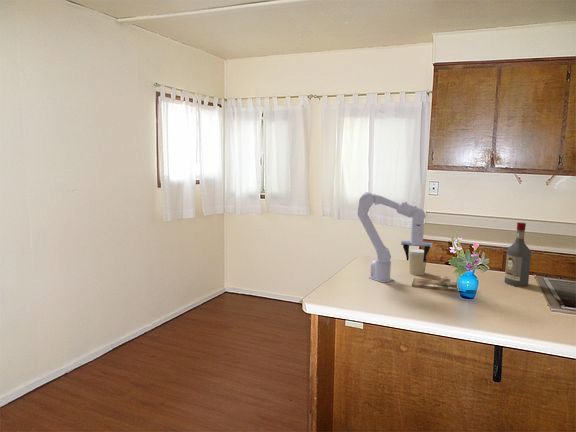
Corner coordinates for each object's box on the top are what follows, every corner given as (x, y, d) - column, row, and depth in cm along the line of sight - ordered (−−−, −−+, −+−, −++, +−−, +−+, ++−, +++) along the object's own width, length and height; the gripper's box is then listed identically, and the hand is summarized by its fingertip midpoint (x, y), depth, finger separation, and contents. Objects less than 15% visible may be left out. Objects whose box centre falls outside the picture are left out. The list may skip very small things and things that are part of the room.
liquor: (515, 280, 219) (521, 221, 215) (531, 285, 211) (536, 224, 207) (501, 282, 216) (506, 221, 212) (516, 287, 208) (521, 224, 204)
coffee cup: (428, 275, 226) (429, 252, 224) (410, 275, 226) (411, 252, 224) (423, 271, 235) (424, 249, 233) (405, 270, 235) (406, 248, 233)
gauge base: (411, 286, 206) (412, 276, 205) (414, 279, 217) (414, 270, 217) (466, 292, 198) (467, 282, 197) (466, 285, 209) (466, 275, 208)
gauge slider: (440, 286, 202) (440, 280, 202) (441, 282, 209) (441, 275, 209) (449, 287, 201) (450, 281, 200) (450, 283, 208) (450, 276, 208)
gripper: (400, 233, 210) (399, 261, 212) (432, 235, 205) (431, 264, 207) (402, 231, 217) (401, 258, 218) (433, 233, 211) (431, 260, 213)
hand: (415, 260), depth 213 cm, fingers open, 7 cm apart
